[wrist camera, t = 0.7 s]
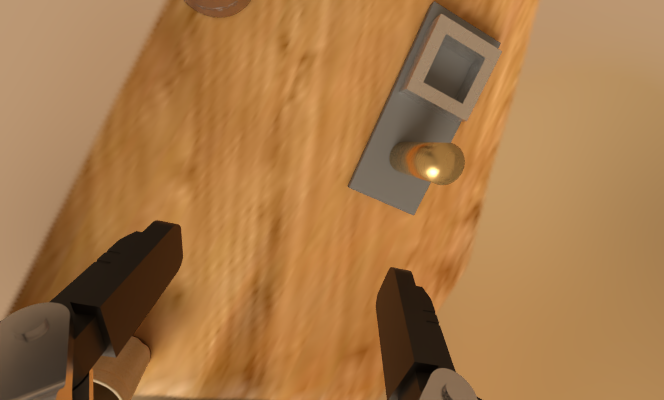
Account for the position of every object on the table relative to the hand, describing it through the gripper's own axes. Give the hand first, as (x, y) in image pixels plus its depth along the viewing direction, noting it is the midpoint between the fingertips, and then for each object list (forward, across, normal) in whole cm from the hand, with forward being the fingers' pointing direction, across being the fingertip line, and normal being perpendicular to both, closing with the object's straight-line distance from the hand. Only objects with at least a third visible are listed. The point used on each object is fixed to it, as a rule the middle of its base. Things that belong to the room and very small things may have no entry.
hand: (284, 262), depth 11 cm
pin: (+26, -11, +3) cm, 29 cm away
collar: (+30, -13, -7) cm, 33 cm away
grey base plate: (+29, -12, -1) cm, 31 cm away
